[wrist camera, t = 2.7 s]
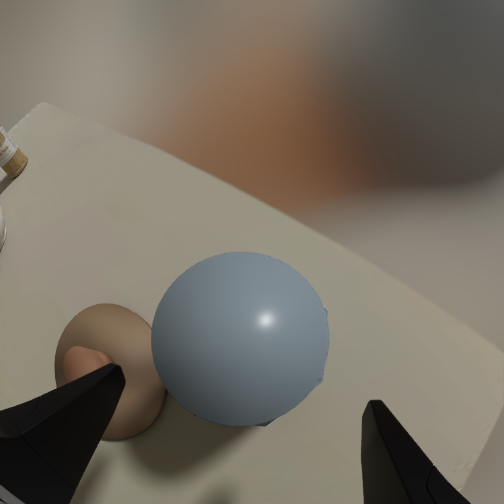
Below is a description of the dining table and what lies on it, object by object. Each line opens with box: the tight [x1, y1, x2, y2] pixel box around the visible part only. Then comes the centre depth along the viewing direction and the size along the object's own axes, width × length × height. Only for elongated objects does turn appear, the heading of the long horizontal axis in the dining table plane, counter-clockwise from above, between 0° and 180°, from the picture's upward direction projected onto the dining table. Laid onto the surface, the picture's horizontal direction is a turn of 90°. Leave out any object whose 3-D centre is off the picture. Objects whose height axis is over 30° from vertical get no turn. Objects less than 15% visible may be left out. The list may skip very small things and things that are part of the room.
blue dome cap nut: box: [151, 252, 329, 426], centre depth 14 cm, size 6×6×10 cm
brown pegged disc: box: [55, 304, 167, 439], centre depth 17 cm, size 11×11×4 cm
